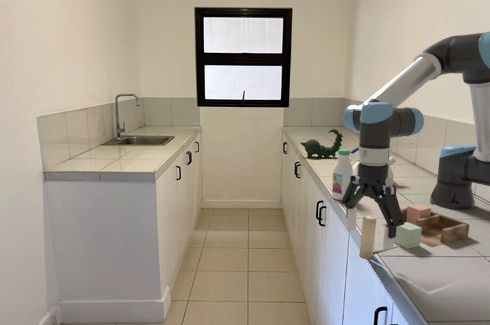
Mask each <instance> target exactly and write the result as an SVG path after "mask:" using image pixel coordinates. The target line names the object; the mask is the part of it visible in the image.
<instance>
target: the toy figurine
mask: <svg viewBox="0 0 490 325" xmlns="http://www.w3.org/2000/svg"><path fill="white" fill-rule="evenodd" d="M328 133H329V134H330V133H333V134H335V135H336V137H335V138H334V139H335V140H334V142H333V144H332V145H331V147H328V146H324V145H322V144H320V142H319V141H318V140H316V139H309V140H307V141H306V142H300V145H301V146H303V147H304V151H305V152H306V153H307V154H306V155H307V157H308V158H312V157H313V156H314V155H315V156H317V157H318V158H322V157H325V159H329V157H331V156H332V157H336V156H337V155H336V153H338V150H340V149H341V148H340V147H342V142H343V139H342V138H343V137H344V136H343V134H342V132H341V133H340V132H339V131H338V130H337V129H335V128H333V129H332V128H331V129H330V130H329V131H328Z"/></svg>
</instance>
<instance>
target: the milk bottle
mask: <svg viewBox="0 0 490 325" xmlns="http://www.w3.org/2000/svg"><path fill="white" fill-rule="evenodd" d="M350 152H351V150H350V149H345V148H340V150H338V151H337V155H338V157H337V160H336V162H335V164H334V168H333V172H332V187H331V188H332V190H331V197H332V198H333V199H335V200H338V201H342V198H343V196H344V194H345V192H346V190H347V188H348V185H349V183H350V177H351V176H353V169H352V167H353V165H352V163H351V160H350V156H351V153H350Z"/></svg>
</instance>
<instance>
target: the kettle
mask: <svg viewBox="0 0 490 325" xmlns="http://www.w3.org/2000/svg"><path fill="white" fill-rule="evenodd" d="M357 152H359V146H358V147H356V148H354V149H352V150H350V154H352V155H354V154H355V153H357ZM359 162H360V161H359V160H357V162H356V163H355V164H353V165H352V169H353V175H358V163H359ZM395 163H397V160H396V159H395V157H394V156H389V162H388V163H387V164H388V177H387V179H386V181H385V183H386V186H394V172H393V169H392V168H391V167H392V165H393V164H395ZM358 187H360V185H358Z"/></svg>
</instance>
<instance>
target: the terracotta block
mask: <svg viewBox="0 0 490 325" xmlns="http://www.w3.org/2000/svg"><path fill="white" fill-rule="evenodd" d="M406 208H407V219H406V222H409V223H411V224H414V225H415V224H416V219H421V218H425V217H429V216H430V215H431V211H432V207H430V206H427V205H423V204H421V203H415V204H410V205H407V207H406Z"/></svg>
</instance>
